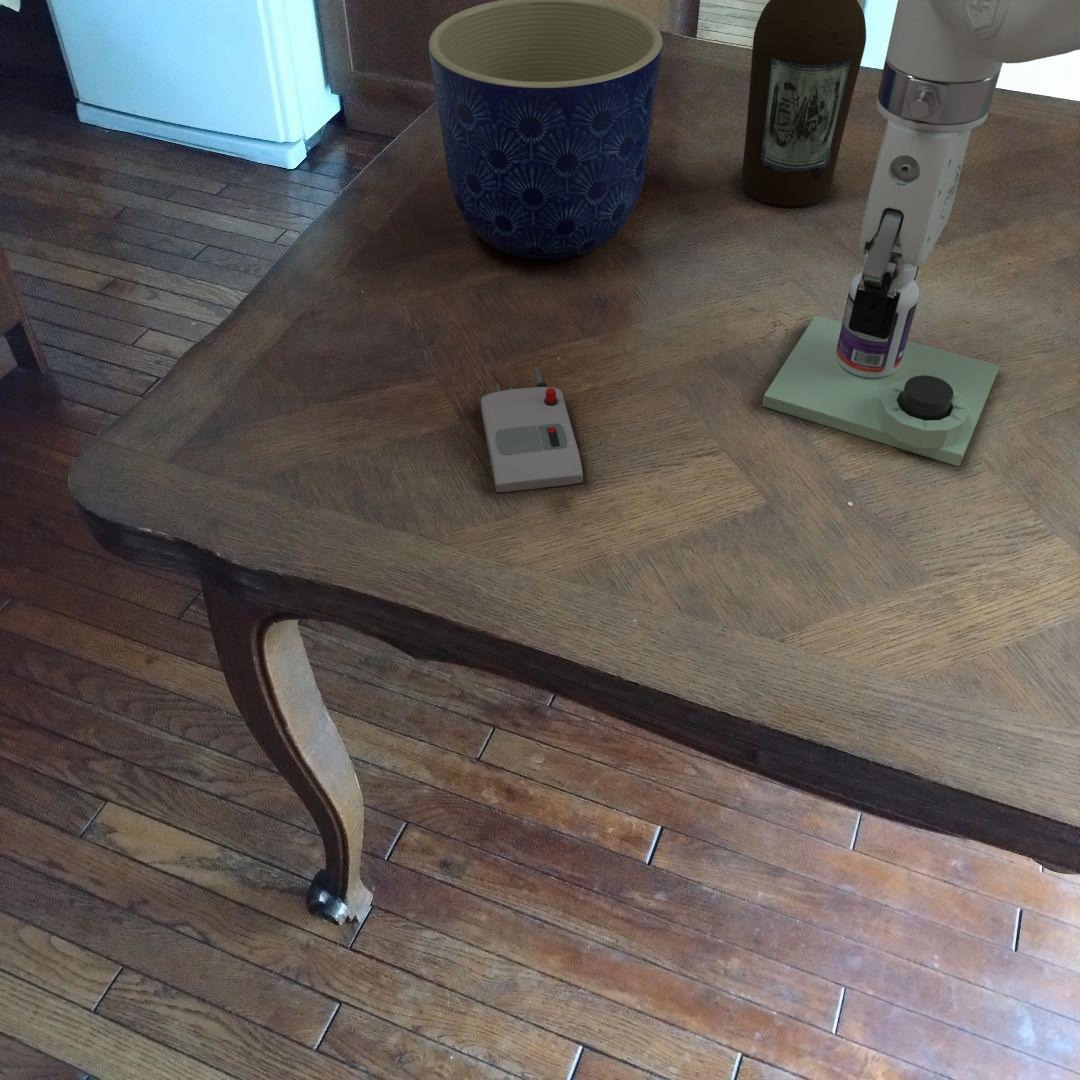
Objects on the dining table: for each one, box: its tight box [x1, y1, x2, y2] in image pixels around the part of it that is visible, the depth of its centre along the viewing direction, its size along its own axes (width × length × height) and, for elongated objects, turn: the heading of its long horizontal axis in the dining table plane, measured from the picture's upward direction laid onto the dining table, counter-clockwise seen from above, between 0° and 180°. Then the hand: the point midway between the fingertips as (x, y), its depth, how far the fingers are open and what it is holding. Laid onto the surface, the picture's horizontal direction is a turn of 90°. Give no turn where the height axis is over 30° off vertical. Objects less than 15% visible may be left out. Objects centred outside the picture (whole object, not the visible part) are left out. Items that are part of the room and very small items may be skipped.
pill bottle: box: [836, 246, 920, 378], centre depth 86 cm, size 5×5×10 cm
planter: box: [428, 0, 664, 261], centre depth 100 cm, size 21×21×19 cm
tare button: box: [900, 375, 953, 421], centre depth 82 cm, size 4×4×2 cm
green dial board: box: [761, 315, 1000, 467], centre depth 87 cm, size 16×14×3 cm
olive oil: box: [740, 0, 867, 208], centre depth 104 cm, size 11×11×25 cm
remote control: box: [480, 365, 584, 504], centre depth 83 cm, size 7×16×3 cm, turn 9°
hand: (880, 311), depth 86 cm, fingers closed on pill bottle, 5 cm apart
